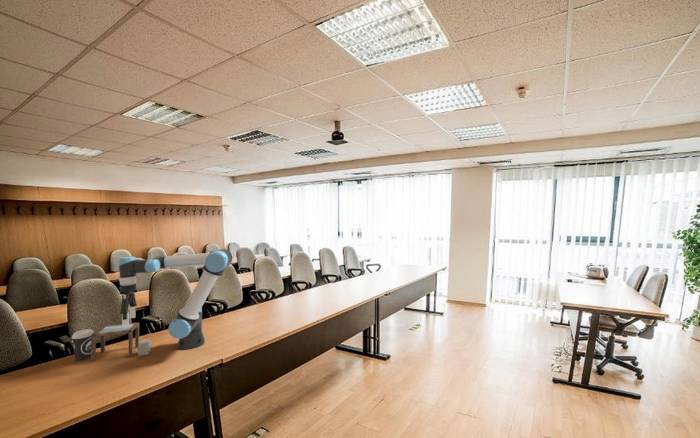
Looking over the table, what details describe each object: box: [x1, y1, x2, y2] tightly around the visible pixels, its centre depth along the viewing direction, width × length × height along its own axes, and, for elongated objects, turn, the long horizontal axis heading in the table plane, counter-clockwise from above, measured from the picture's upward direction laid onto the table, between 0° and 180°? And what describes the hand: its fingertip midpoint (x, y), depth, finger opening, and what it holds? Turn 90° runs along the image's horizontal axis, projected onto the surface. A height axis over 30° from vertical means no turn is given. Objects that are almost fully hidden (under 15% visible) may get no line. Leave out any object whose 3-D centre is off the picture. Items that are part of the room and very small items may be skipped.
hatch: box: [99, 324, 134, 333], centre depth 171 cm, size 14×11×1 cm
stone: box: [137, 339, 152, 357], centre depth 172 cm, size 5×5×7 cm
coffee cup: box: [71, 328, 95, 362], centre depth 166 cm, size 10×10×15 cm
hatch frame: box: [90, 322, 140, 363], centre depth 171 cm, size 18×14×15 cm
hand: (129, 321), depth 167 cm, fingers open, 13 cm apart
